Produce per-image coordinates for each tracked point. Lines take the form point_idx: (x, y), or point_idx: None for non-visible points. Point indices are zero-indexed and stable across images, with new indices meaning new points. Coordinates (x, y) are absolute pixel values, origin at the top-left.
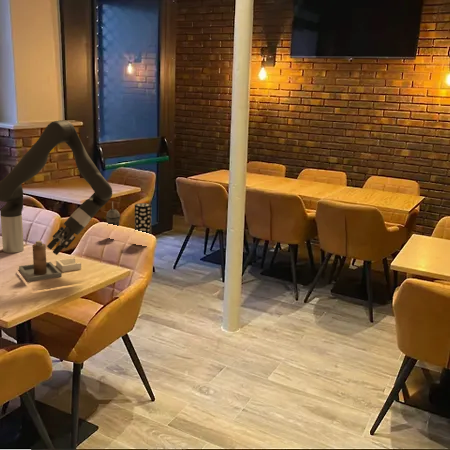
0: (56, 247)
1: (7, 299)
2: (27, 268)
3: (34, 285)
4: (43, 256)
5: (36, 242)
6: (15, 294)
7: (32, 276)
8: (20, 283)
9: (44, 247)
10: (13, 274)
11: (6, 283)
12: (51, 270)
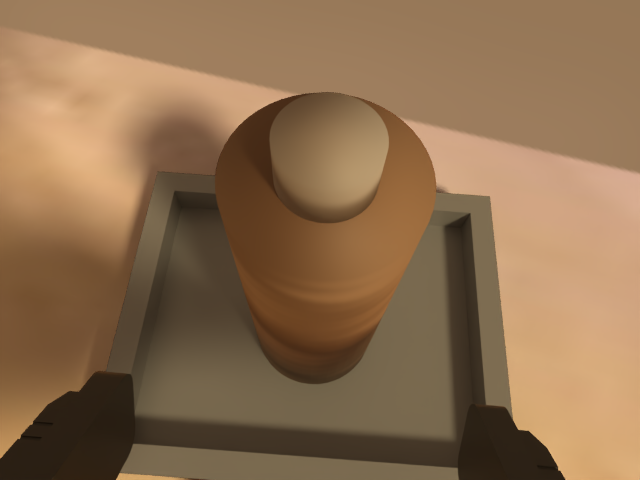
0: (63, 437)
1: (9, 41)
2: (465, 264)
3: (115, 221)
4: (241, 281)
5: (309, 96)
6: (48, 88)
7: None
8: None
9: (238, 250)
10: None
11: (273, 99)
12: (328, 444)
